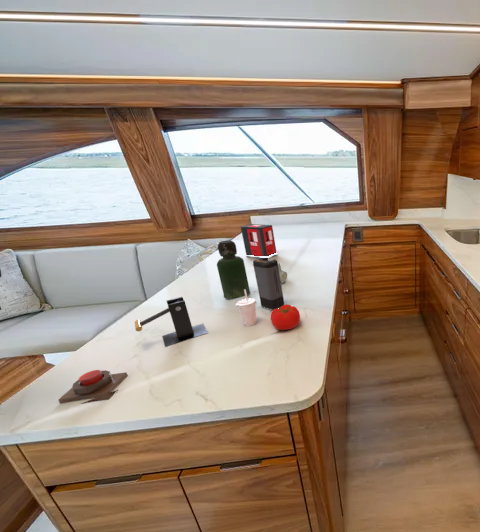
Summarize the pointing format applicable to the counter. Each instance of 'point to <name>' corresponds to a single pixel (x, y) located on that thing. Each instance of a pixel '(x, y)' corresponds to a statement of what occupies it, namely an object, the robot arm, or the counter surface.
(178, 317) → the switch bracket
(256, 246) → the cleaning product box
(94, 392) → the button block
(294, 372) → the counter surface
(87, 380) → the red button
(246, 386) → the counter surface
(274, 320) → the tomato
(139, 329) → the switch lever
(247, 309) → the smoothie
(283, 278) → the air freshener
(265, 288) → the electronic device
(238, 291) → the green bottle
